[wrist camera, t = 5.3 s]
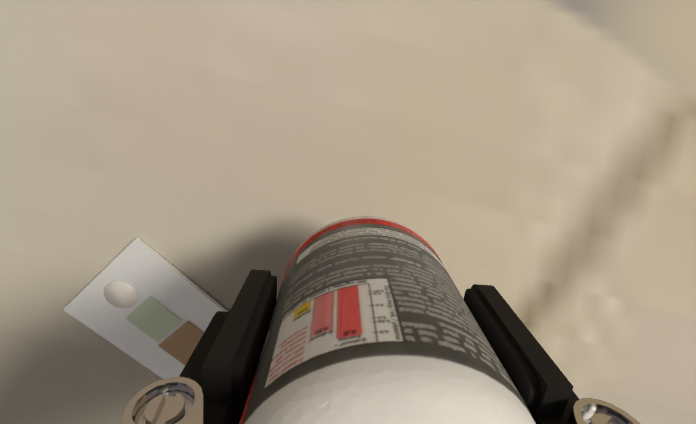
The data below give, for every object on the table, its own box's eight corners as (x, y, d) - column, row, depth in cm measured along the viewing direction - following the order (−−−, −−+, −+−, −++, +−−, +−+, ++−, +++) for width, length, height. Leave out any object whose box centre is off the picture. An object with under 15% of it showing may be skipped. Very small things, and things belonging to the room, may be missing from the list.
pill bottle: (255, 255, 12) (-43, 809, 3) (402, 182, 11) (692, 603, 2) (331, 370, 14) (310, 955, 4) (464, 313, 13) (778, 874, 4)
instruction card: (189, 393, 20) (187, 397, 20) (65, 307, 18) (61, 311, 17) (261, 338, 18) (260, 342, 18) (137, 237, 16) (133, 239, 16)
